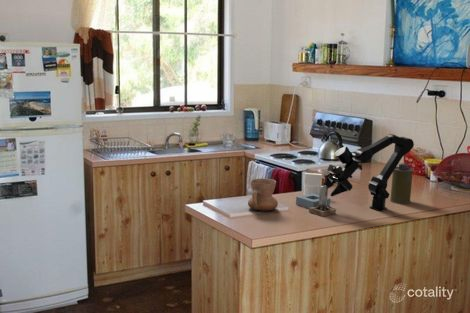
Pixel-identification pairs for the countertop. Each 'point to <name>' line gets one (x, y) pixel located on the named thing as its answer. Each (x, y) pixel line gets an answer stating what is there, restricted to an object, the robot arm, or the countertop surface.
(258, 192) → the ceramic jug
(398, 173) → the canister
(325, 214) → the square wooden frame
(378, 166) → the countertop surface
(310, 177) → the off-white rectangular block
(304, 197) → the slate-blue hub block
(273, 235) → the countertop surface
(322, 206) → the cylinder
